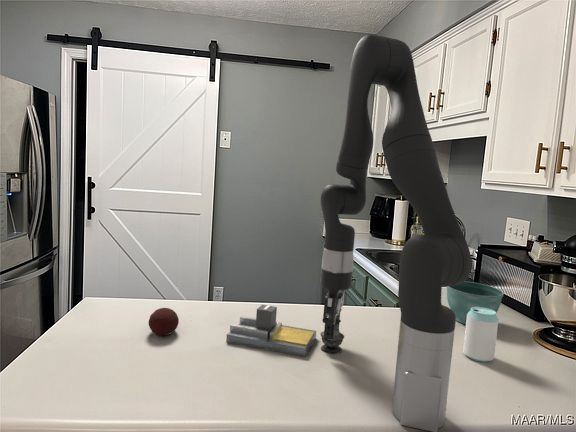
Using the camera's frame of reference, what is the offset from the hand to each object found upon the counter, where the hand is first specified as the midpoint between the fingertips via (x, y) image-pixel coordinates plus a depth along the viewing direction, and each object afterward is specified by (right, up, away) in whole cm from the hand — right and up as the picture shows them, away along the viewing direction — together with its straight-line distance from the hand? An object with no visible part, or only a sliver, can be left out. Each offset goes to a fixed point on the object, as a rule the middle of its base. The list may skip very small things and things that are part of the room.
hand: (331, 331), depth 102 cm
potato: (-43, -1, +4) cm, 43 cm away
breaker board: (-15, -3, +3) cm, 15 cm away
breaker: (-16, -1, +4) cm, 17 cm away
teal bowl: (+46, -5, +27) cm, 54 cm away
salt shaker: (0, -5, 0) cm, 5 cm away
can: (+37, -7, +1) cm, 37 cm away
